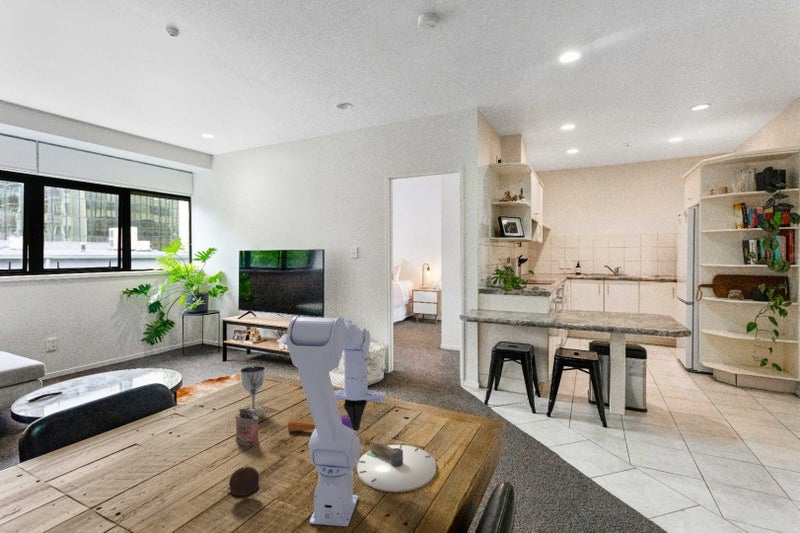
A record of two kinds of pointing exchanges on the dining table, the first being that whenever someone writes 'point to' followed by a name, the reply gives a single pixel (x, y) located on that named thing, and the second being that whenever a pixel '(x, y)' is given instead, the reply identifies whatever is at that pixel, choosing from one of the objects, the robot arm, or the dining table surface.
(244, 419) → the lighter
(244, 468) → the compass
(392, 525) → the dining table surface
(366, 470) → the gauge dial
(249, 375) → the wine glass
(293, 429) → the kendama
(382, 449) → the tuning pointer
